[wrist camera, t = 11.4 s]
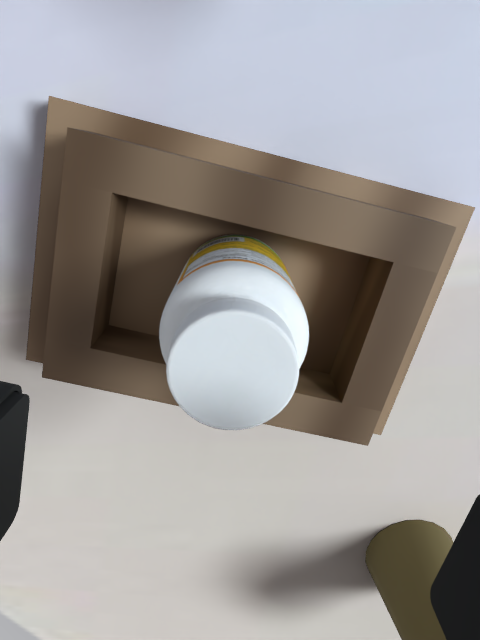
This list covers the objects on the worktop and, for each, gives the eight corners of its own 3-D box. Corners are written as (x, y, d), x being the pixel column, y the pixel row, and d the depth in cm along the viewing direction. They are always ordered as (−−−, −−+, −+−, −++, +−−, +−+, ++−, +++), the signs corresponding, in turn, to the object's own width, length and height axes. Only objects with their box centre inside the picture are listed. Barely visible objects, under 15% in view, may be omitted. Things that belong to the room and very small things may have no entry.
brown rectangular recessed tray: (460, 204, 22) (511, 214, 18) (373, 420, 27) (398, 469, 22) (62, 100, 21) (16, 84, 16) (38, 348, 25) (-4, 386, 21)
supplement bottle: (251, 354, 23) (260, 477, 14) (162, 303, 22) (109, 401, 13) (310, 269, 22) (361, 347, 13) (216, 211, 21) (199, 249, 12)
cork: (349, 571, 31) (405, 779, 20) (394, 508, 29) (480, 702, 19) (423, 596, 32) (513, 809, 21) (471, 537, 30) (596, 738, 19)
